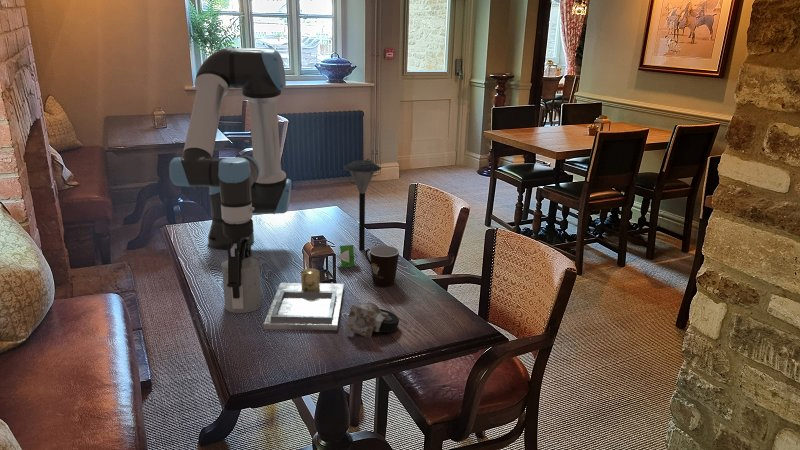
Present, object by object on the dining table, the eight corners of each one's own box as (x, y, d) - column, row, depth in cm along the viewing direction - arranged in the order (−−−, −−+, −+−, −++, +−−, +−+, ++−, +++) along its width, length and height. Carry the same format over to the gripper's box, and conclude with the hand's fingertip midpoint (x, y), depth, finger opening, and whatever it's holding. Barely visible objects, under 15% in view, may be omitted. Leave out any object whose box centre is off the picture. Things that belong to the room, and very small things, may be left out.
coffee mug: (402, 286, 166) (403, 254, 163) (374, 290, 163) (374, 257, 160) (389, 271, 176) (390, 241, 173) (362, 274, 173) (363, 243, 170)
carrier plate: (280, 287, 163) (279, 266, 161) (343, 288, 164) (343, 267, 161) (263, 329, 140) (262, 305, 138) (337, 330, 141) (337, 306, 139)
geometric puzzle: (334, 253, 183) (336, 240, 176) (355, 252, 185) (357, 238, 178) (336, 273, 179) (339, 260, 173) (358, 271, 181) (361, 258, 174)
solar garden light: (365, 259, 185) (366, 168, 175) (336, 250, 191) (335, 163, 182) (386, 248, 195) (388, 162, 185) (358, 240, 201) (358, 156, 191)
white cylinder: (217, 305, 152) (213, 262, 148) (247, 293, 159) (244, 252, 155) (238, 316, 146) (235, 272, 142) (268, 304, 153) (266, 262, 149)
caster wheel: (398, 332, 146) (387, 346, 136) (358, 317, 148) (344, 329, 139) (405, 309, 144) (394, 321, 135) (364, 293, 147) (351, 305, 137)
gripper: (242, 234, 134) (247, 319, 141) (261, 206, 155) (265, 282, 162) (209, 234, 134) (216, 319, 141) (233, 206, 155) (238, 281, 162)
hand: (242, 299), depth 152 cm, fingers closed on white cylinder, 9 cm apart
